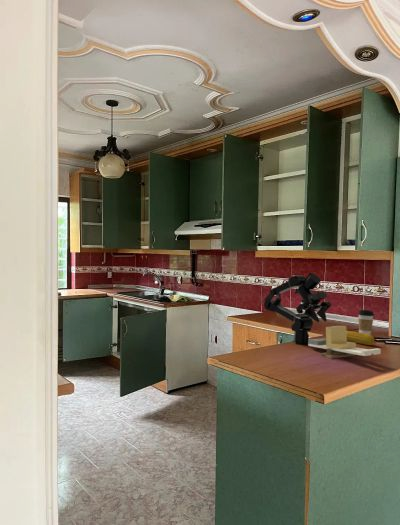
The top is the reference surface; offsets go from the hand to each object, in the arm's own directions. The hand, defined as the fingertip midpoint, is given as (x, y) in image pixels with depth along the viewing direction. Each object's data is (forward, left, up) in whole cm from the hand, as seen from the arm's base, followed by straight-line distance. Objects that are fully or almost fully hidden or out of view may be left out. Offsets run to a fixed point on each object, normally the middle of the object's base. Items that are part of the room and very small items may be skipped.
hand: (322, 321), depth 183 cm
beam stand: (+5, -9, -14) cm, 17 cm away
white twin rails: (+6, -11, -10) cm, 16 cm away
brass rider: (+6, -10, -9) cm, 15 cm away
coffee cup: (+35, +36, -14) cm, 52 cm away
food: (+23, +20, -14) cm, 34 cm away
